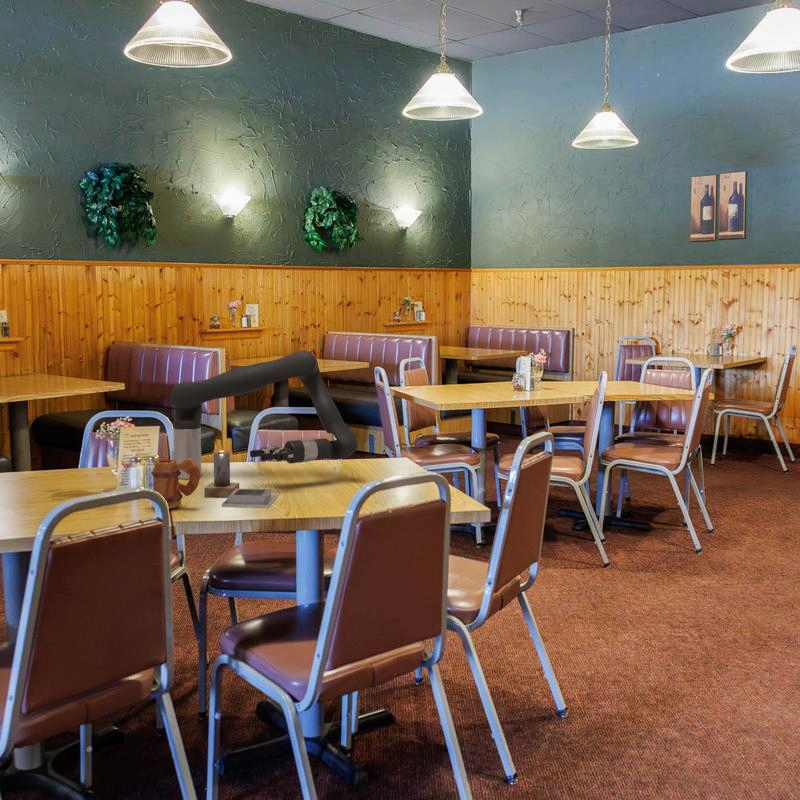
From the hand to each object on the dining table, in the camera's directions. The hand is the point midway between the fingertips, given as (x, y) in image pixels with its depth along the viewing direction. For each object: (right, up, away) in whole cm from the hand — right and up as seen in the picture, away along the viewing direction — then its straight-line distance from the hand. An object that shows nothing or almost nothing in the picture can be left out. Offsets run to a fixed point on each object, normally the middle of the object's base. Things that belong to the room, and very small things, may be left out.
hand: (255, 455), depth 290 cm
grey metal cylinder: (-10, -9, -5) cm, 14 cm away
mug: (-20, -14, -24) cm, 34 cm away
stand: (-10, -12, -5) cm, 16 cm away
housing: (+1, -13, -15) cm, 20 cm away
